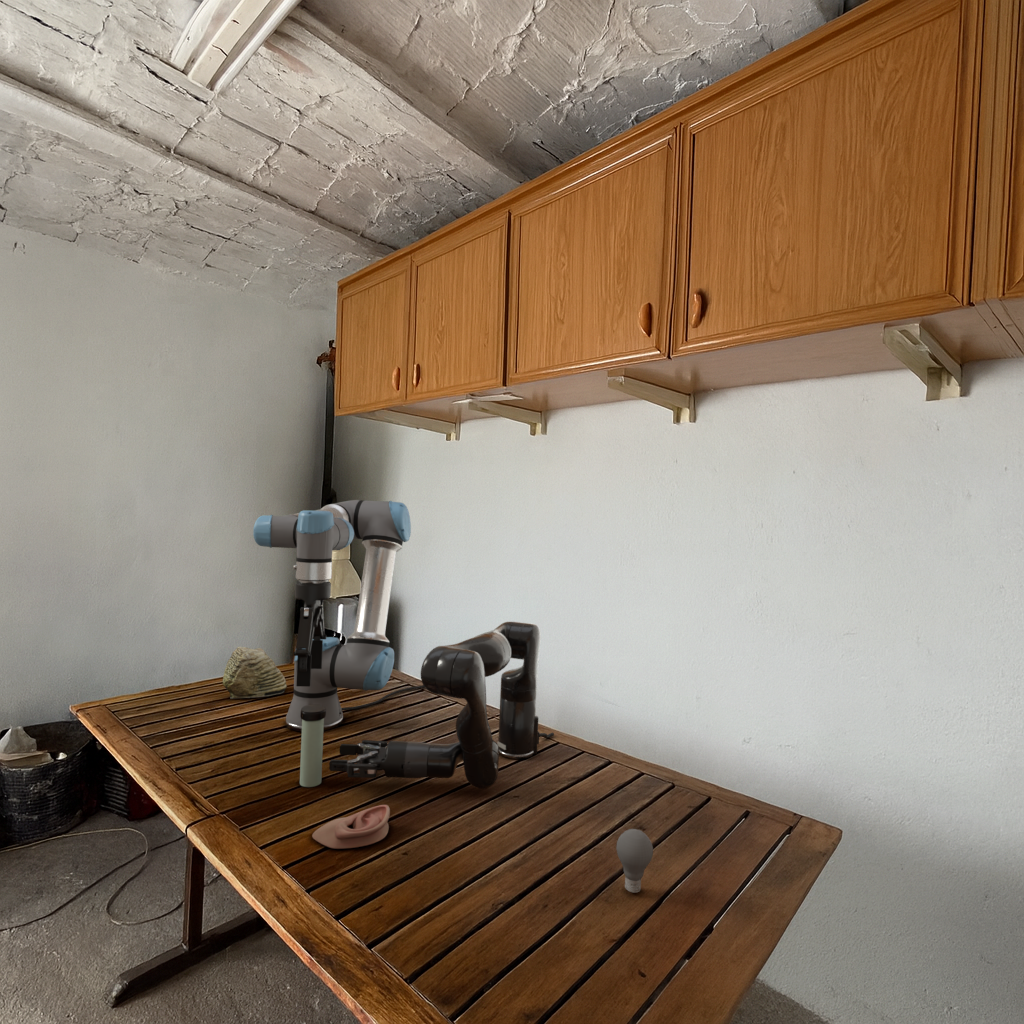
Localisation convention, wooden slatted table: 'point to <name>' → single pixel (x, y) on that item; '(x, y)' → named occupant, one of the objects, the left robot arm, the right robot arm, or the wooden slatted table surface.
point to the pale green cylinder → (311, 753)
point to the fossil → (252, 674)
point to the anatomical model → (355, 829)
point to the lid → (313, 712)
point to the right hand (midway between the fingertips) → (335, 756)
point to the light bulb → (634, 857)
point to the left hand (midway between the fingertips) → (309, 676)
